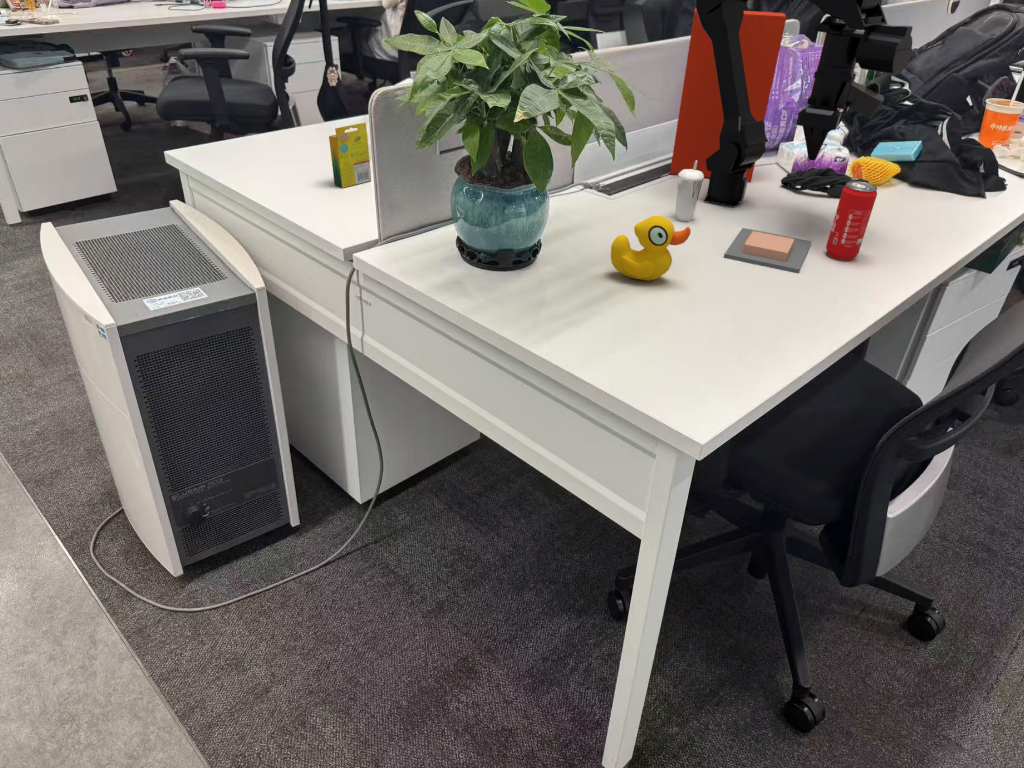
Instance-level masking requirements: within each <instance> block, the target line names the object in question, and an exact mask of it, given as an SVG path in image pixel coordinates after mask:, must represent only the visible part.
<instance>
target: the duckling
mask: <svg viewBox="0 0 1024 768" xmlns="http://www.w3.org/2000/svg"><path fill="white" fill-rule="evenodd" d="M633 230H634V234H635V236H636V237H637V239H638V240H637V241H638V243H639V244H640V245H641V247H642V249H641V250H636V249H633V248H631V245H630V240H629V238H628V237H627V235H625V234H619V235H618V236H616V237H615V239H614V240H613V241H612V243H611V246H610V260H611V264H612V266H613V267H614V269H615V270H616V271H617V272H619V273H621V274H622V275H624V276H626V277H628V278H631V279H633V280H634V279H635V280H640V281H651V282H652V281H654V280H657V279H659V278H661V276H663V275H665V274H666V273H667V272H668V271H669V270H670V268H671V266H672V264H673V258H672V254H671V252H670V251H669V250H668V247H669V246H679V245H682V244H684V243H685V242H687V240H688V239H689V237H690V236H691V233H692V231H691V228H690V226H686V227H685V228H684V229H682V230H678V231H675V227H674V223H673V222H672V221H671V220H670V219H669V218H667V217H665V216H663V215H652V216H650V217H647V218H646V219H644V220H641V221H639V222H637V223H636V224H635V225H634V229H633Z"/></svg>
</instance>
